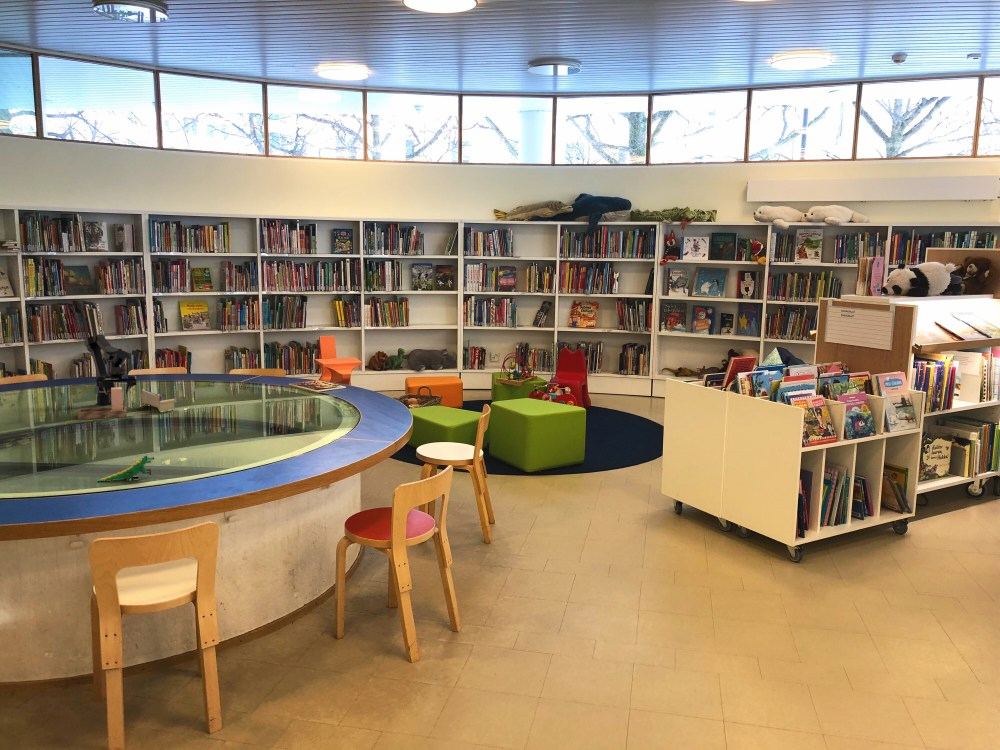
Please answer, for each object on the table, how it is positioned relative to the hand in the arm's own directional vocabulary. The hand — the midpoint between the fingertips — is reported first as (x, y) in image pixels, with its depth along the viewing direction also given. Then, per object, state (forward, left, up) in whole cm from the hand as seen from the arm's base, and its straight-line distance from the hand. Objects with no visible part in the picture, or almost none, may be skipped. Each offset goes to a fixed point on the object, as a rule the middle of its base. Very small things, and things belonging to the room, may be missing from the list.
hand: (116, 394), depth 411 cm
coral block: (+2, +2, -8) cm, 9 cm away
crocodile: (+76, +97, -11) cm, 124 cm away
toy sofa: (-21, +6, -11) cm, 24 cm away
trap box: (+7, -2, -11) cm, 13 cm away
